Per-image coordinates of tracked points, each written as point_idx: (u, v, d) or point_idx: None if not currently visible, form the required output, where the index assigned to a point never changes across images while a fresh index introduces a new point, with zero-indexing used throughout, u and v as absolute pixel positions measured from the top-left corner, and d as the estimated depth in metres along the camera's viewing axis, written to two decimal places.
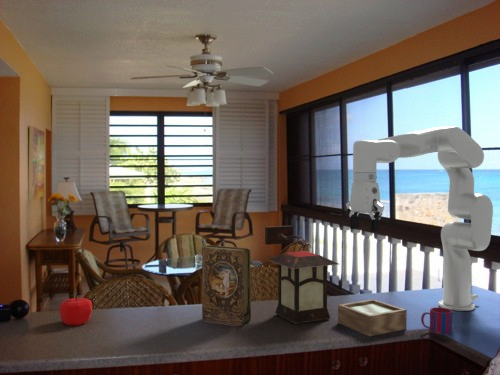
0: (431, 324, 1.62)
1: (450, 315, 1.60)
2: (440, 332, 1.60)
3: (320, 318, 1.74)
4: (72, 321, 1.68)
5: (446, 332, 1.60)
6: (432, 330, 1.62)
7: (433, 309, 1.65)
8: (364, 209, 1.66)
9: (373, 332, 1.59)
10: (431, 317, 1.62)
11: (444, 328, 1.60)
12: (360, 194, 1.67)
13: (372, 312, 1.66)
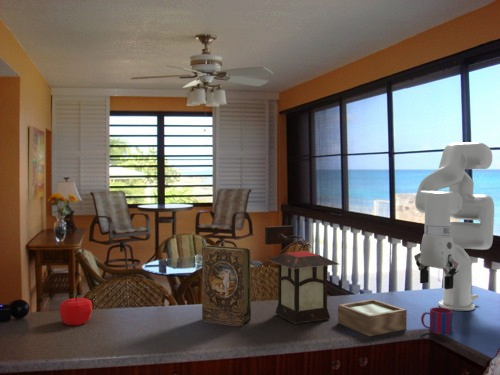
0: (431, 324, 1.62)
1: (450, 315, 1.60)
2: (440, 332, 1.60)
3: (320, 318, 1.74)
4: (72, 321, 1.68)
5: (446, 332, 1.60)
6: (432, 330, 1.62)
7: (433, 309, 1.65)
8: (437, 264, 1.59)
9: (373, 332, 1.59)
10: (431, 317, 1.62)
11: (444, 328, 1.60)
12: (433, 248, 1.60)
13: (372, 312, 1.66)
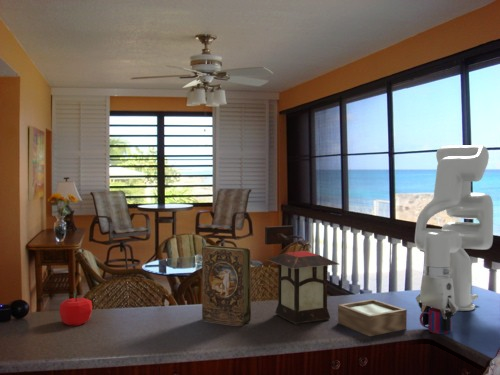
0: (429, 323, 1.63)
1: None
2: (438, 331, 1.60)
3: (320, 318, 1.74)
4: (72, 321, 1.68)
5: (445, 331, 1.60)
6: (430, 329, 1.62)
7: (432, 309, 1.66)
8: (437, 305, 1.59)
9: (373, 332, 1.59)
10: (429, 316, 1.63)
11: None
12: (433, 289, 1.60)
13: (372, 312, 1.66)
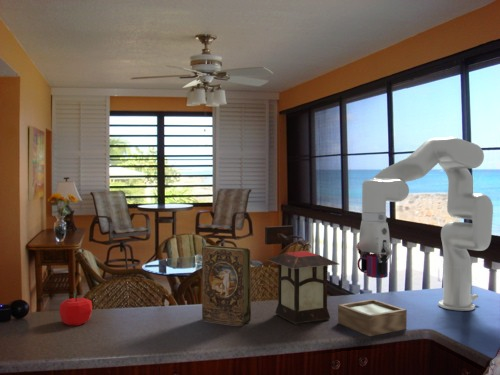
0: (367, 268, 1.68)
1: None
2: (374, 275, 1.65)
3: (320, 318, 1.74)
4: (72, 321, 1.68)
5: (381, 275, 1.65)
6: (368, 274, 1.67)
7: (370, 255, 1.71)
8: (373, 250, 1.64)
9: (373, 332, 1.59)
10: (367, 262, 1.68)
11: None
12: (369, 234, 1.65)
13: (372, 312, 1.66)
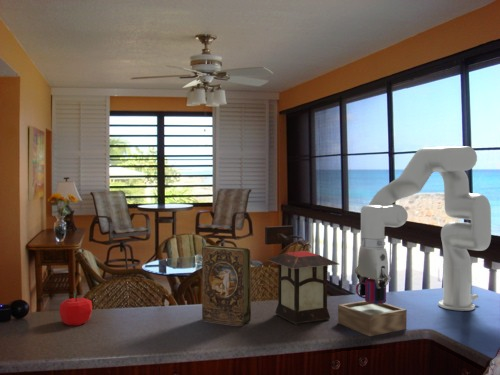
0: (366, 294, 1.68)
1: None
2: (373, 301, 1.66)
3: (320, 318, 1.74)
4: (72, 321, 1.68)
5: (379, 301, 1.66)
6: (366, 299, 1.68)
7: (369, 280, 1.71)
8: (372, 275, 1.65)
9: (373, 332, 1.59)
10: (365, 287, 1.68)
11: None
12: (368, 260, 1.66)
13: (372, 312, 1.66)
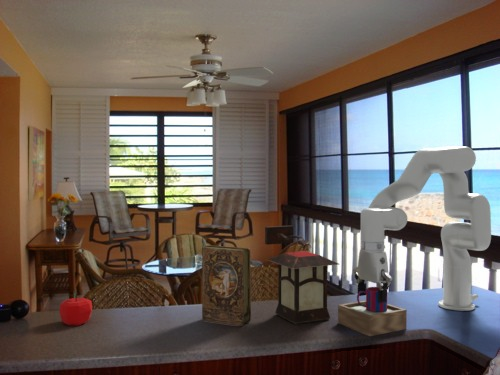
0: (367, 302, 1.68)
1: None
2: (374, 310, 1.66)
3: (320, 318, 1.74)
4: (72, 321, 1.68)
5: (380, 309, 1.66)
6: (367, 308, 1.68)
7: (370, 288, 1.71)
8: (371, 279, 1.65)
9: (373, 332, 1.59)
10: (367, 296, 1.68)
11: (378, 306, 1.66)
12: (368, 263, 1.66)
13: (372, 312, 1.66)
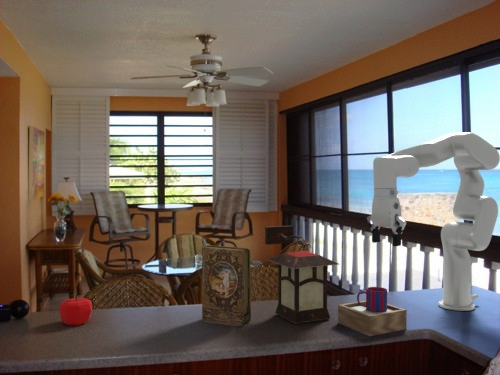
0: (367, 302, 1.68)
1: (384, 293, 1.66)
2: (374, 310, 1.66)
3: (320, 318, 1.74)
4: (72, 321, 1.68)
5: (380, 309, 1.66)
6: (367, 308, 1.68)
7: (370, 288, 1.71)
8: (386, 224, 1.71)
9: (373, 332, 1.59)
10: (367, 296, 1.68)
11: (378, 306, 1.66)
12: (382, 209, 1.72)
13: (372, 312, 1.66)
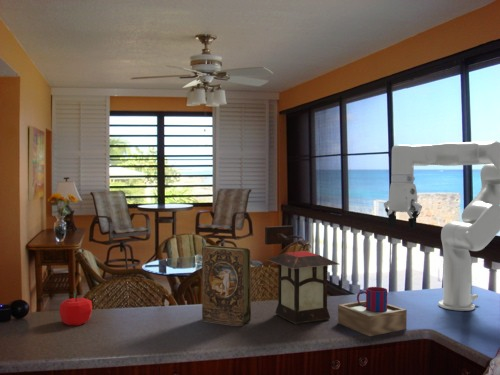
0: (367, 302, 1.68)
1: (384, 293, 1.66)
2: (374, 310, 1.66)
3: (320, 318, 1.74)
4: (72, 321, 1.68)
5: (380, 309, 1.66)
6: (367, 308, 1.68)
7: (370, 288, 1.71)
8: (402, 208, 1.80)
9: (373, 332, 1.59)
10: (367, 296, 1.68)
11: (378, 306, 1.66)
12: (399, 195, 1.81)
13: (372, 312, 1.66)
